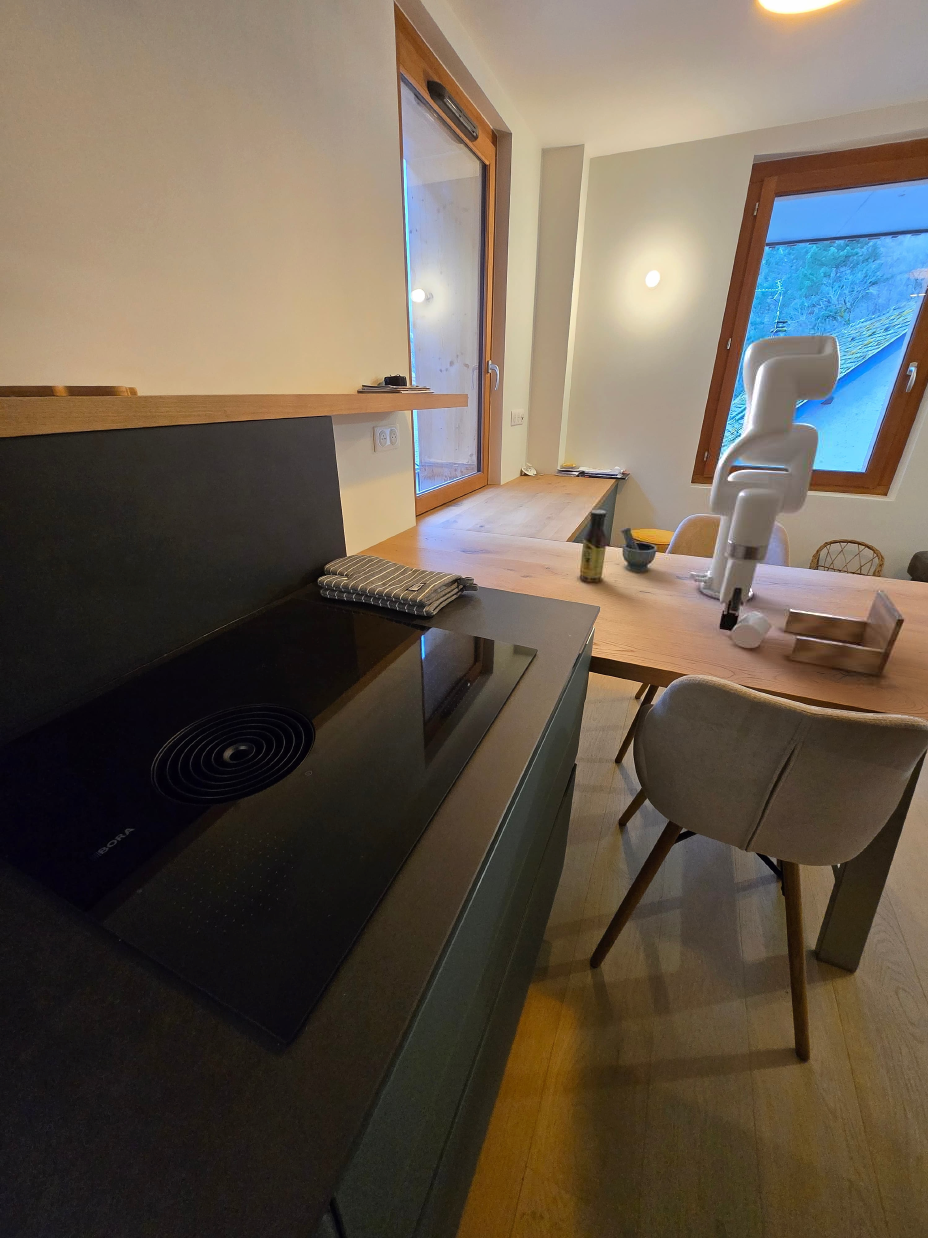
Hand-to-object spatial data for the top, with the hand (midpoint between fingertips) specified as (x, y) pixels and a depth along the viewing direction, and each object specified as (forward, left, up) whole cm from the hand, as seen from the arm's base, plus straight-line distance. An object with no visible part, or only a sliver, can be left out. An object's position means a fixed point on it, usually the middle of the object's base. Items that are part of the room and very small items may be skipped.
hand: (726, 628), depth 110 cm
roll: (+5, 0, -1) cm, 5 cm away
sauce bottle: (-35, +21, -1) cm, 41 cm away
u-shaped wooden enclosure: (+19, 0, -1) cm, 19 cm away
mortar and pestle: (-25, +36, -1) cm, 44 cm away
